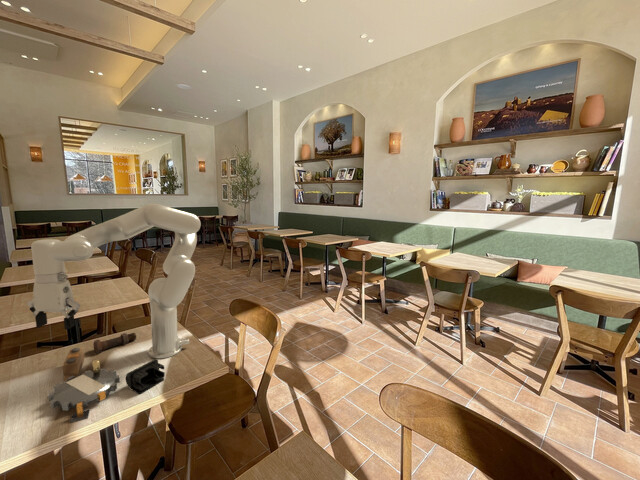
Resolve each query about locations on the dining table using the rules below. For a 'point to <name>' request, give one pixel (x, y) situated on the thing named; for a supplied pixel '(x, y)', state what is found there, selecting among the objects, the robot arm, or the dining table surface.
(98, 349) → the bolt
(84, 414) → the sprocket stand
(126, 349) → the dining table surface
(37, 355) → the dining table surface
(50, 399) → the sprocket
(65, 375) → the tan block with disc
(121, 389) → the dining table surface
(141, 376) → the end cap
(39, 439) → the dining table surface
